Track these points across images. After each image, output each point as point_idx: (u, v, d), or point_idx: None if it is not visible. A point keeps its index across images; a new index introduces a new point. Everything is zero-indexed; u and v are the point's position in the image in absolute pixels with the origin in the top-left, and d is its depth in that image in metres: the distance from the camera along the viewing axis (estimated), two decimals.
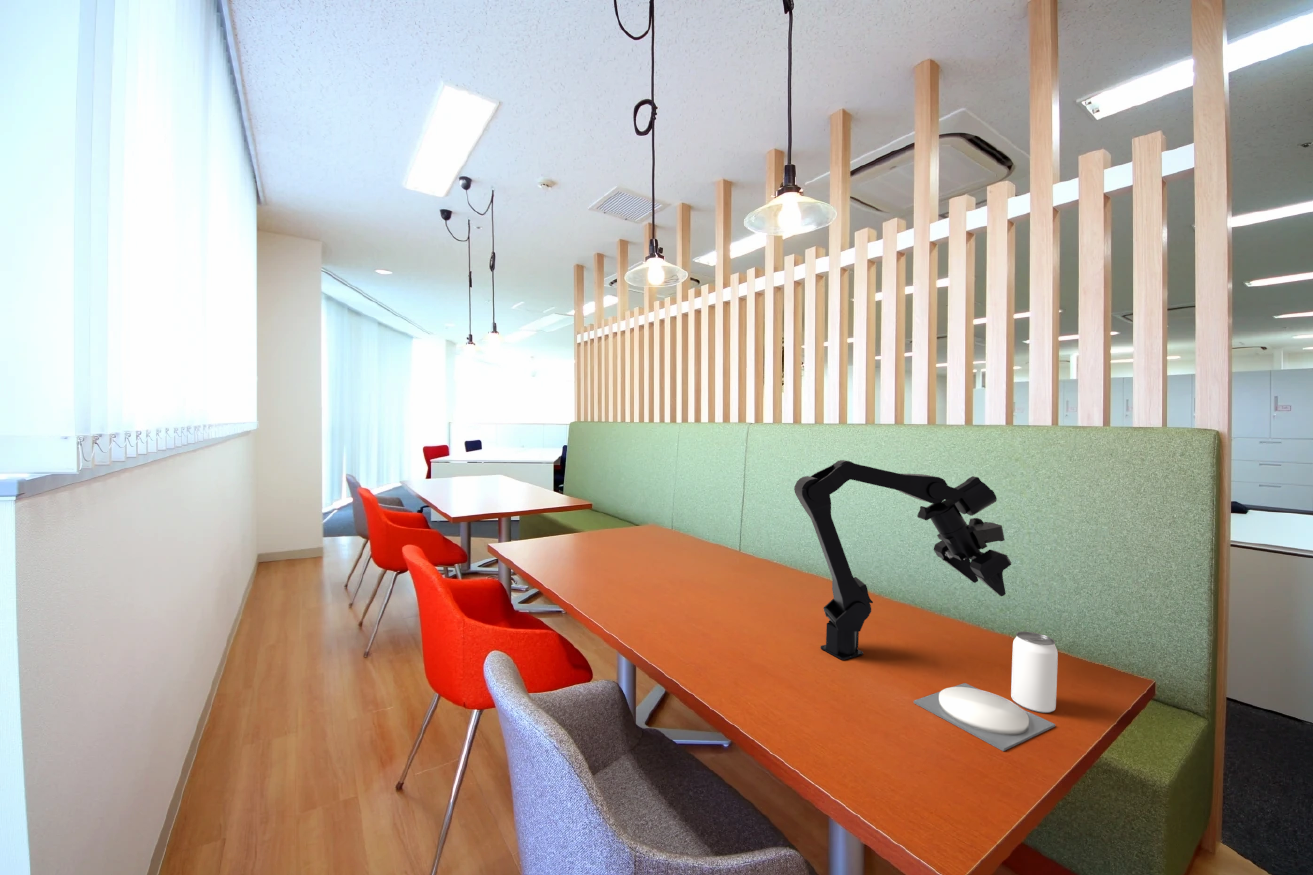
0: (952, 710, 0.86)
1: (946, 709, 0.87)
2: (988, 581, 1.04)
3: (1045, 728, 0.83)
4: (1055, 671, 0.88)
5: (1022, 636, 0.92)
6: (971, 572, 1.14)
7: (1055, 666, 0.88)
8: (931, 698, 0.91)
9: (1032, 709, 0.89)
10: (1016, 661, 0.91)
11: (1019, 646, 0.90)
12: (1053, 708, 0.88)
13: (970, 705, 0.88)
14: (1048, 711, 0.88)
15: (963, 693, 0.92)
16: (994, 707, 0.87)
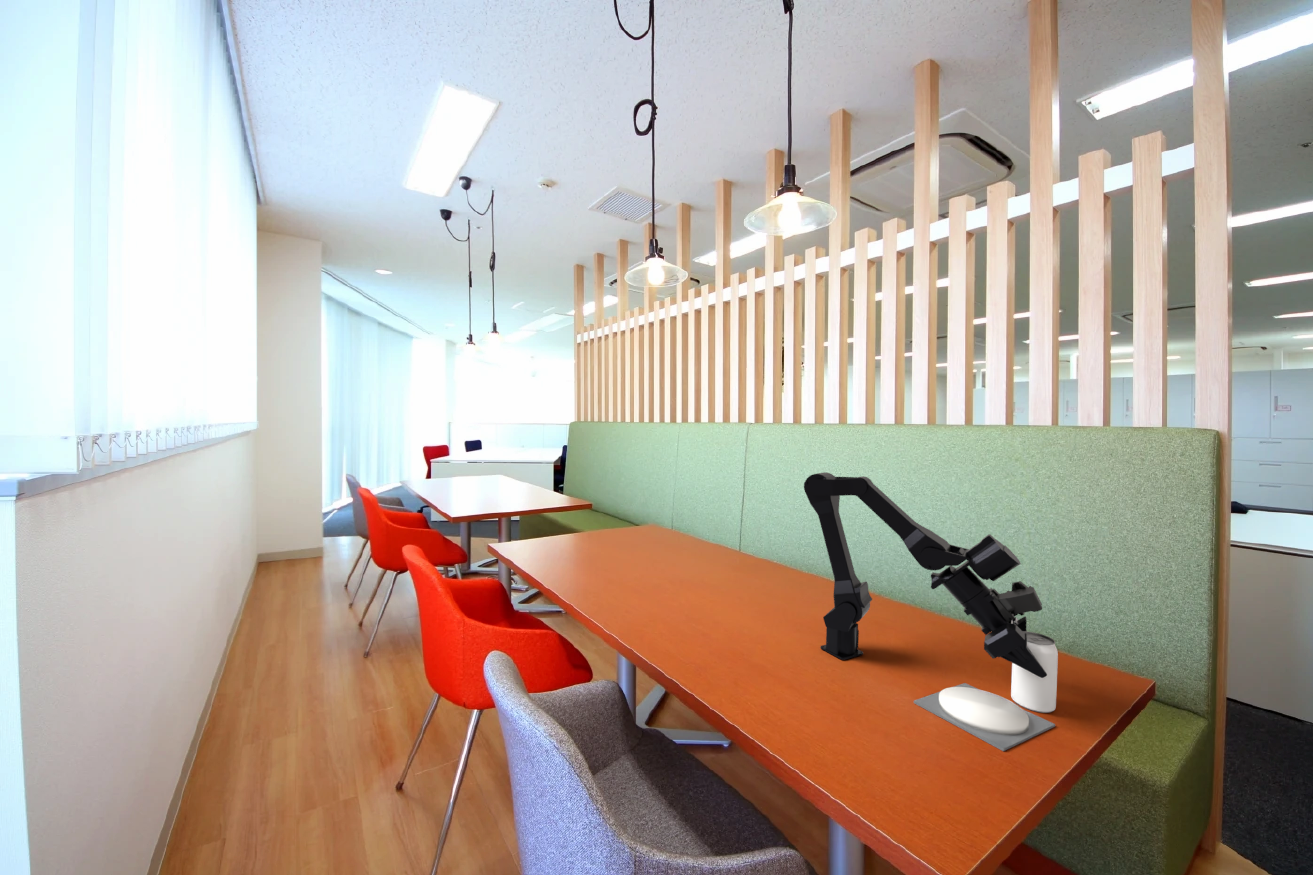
0: (952, 710, 0.86)
1: (946, 709, 0.87)
2: (1011, 659, 0.89)
3: (1045, 728, 0.83)
4: (1055, 671, 0.88)
5: None
6: None
7: (1055, 666, 0.88)
8: (931, 698, 0.91)
9: (1032, 709, 0.89)
10: None
11: None
12: (1053, 708, 0.88)
13: (970, 705, 0.88)
14: (1048, 711, 0.88)
15: (963, 693, 0.92)
16: (994, 707, 0.87)
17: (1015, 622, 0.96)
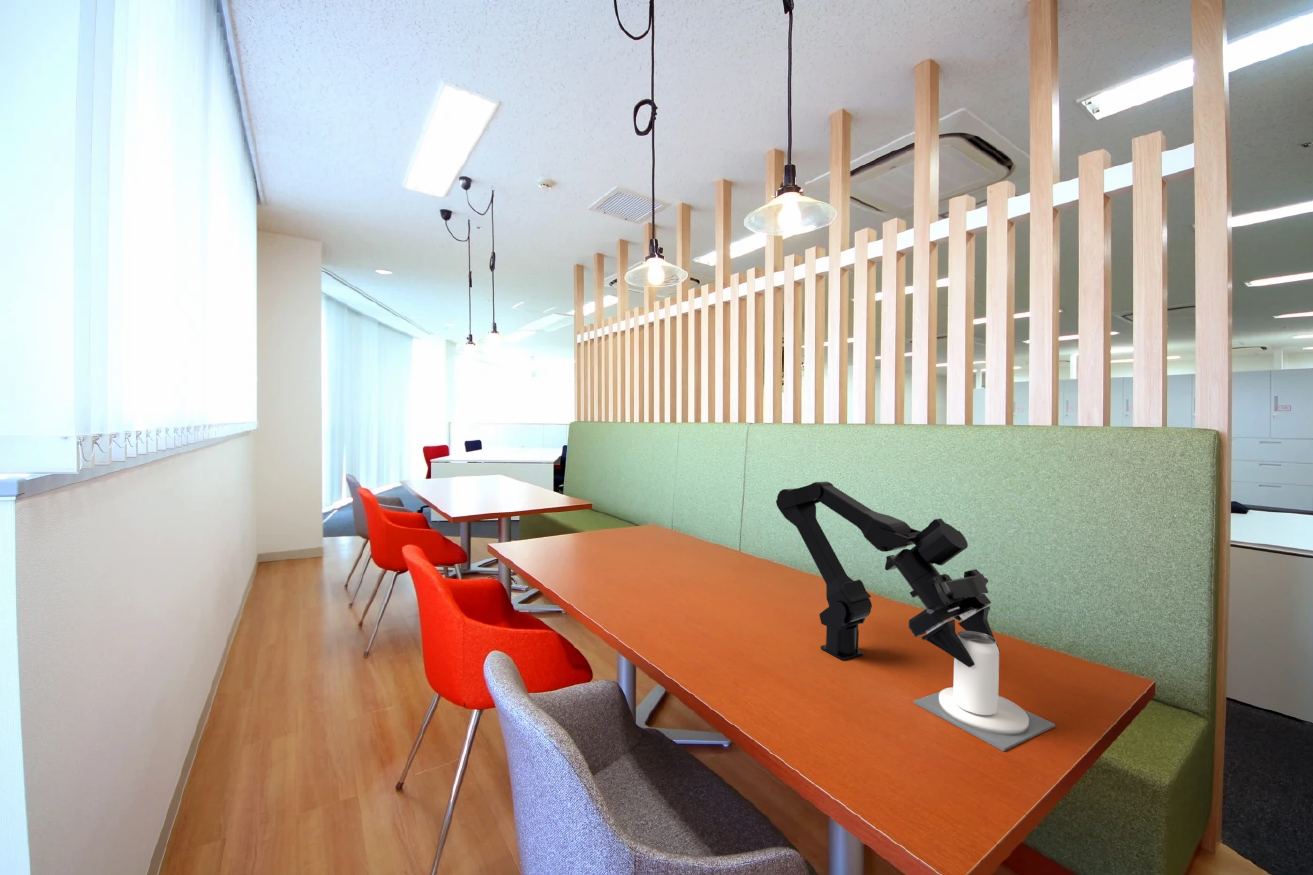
0: (952, 710, 0.86)
1: (946, 709, 0.87)
2: (938, 643, 0.87)
3: (1045, 728, 0.83)
4: (990, 673, 0.84)
5: (965, 634, 0.89)
6: None
7: (990, 667, 0.84)
8: (931, 698, 0.91)
9: (965, 709, 0.85)
10: (954, 658, 0.88)
11: None
12: (989, 712, 0.84)
13: None
14: (981, 714, 0.84)
15: None
16: None
17: (975, 610, 0.94)
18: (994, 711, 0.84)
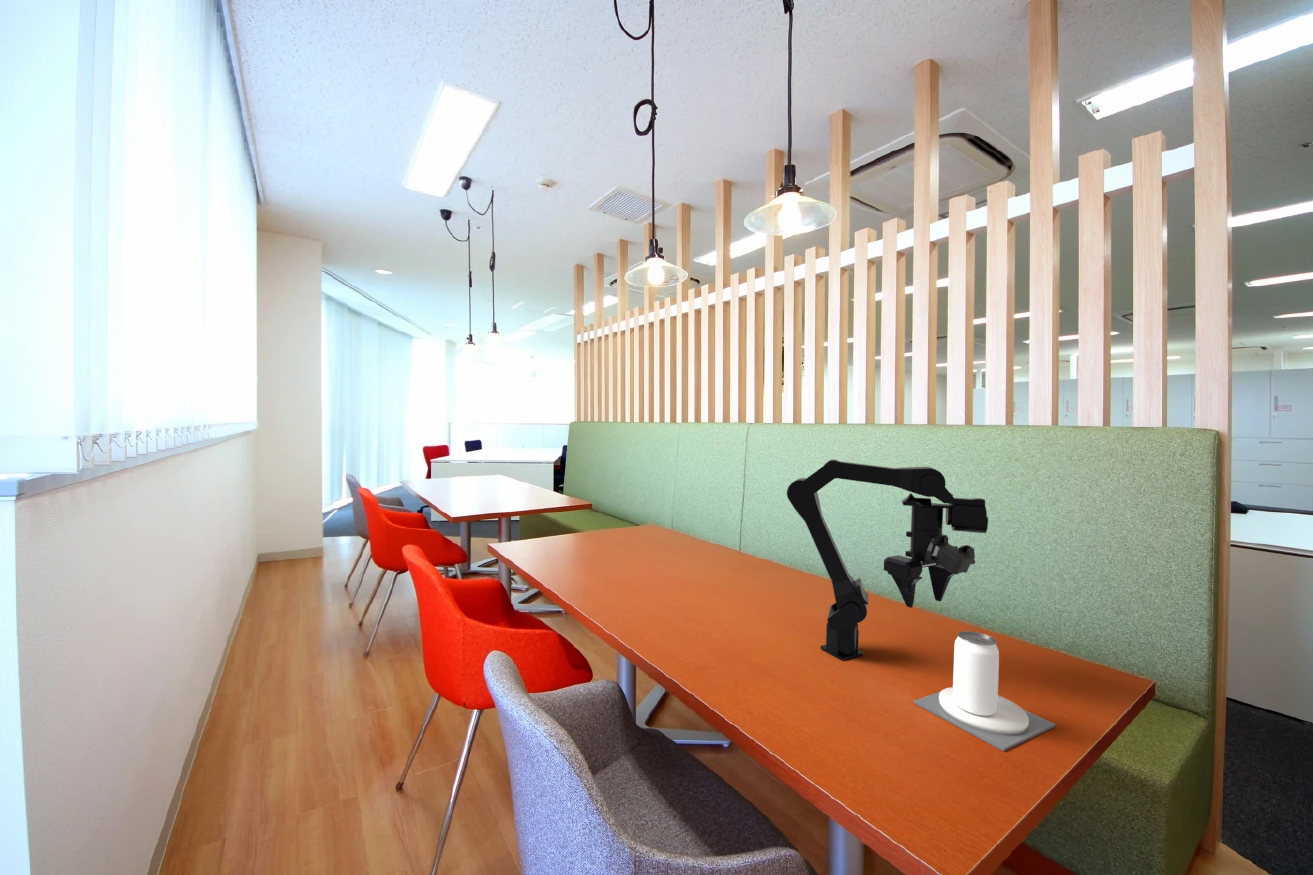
0: (952, 710, 0.86)
1: (946, 709, 0.87)
2: (897, 581, 1.03)
3: (1045, 728, 0.83)
4: (990, 674, 0.84)
5: (966, 635, 0.88)
6: (938, 589, 1.06)
7: (990, 668, 0.84)
8: (931, 698, 0.91)
9: (964, 710, 0.85)
10: (954, 658, 0.88)
11: (955, 643, 0.88)
12: (988, 712, 0.84)
13: None
14: (980, 714, 0.84)
15: None
16: None
17: None
18: (993, 712, 0.84)
